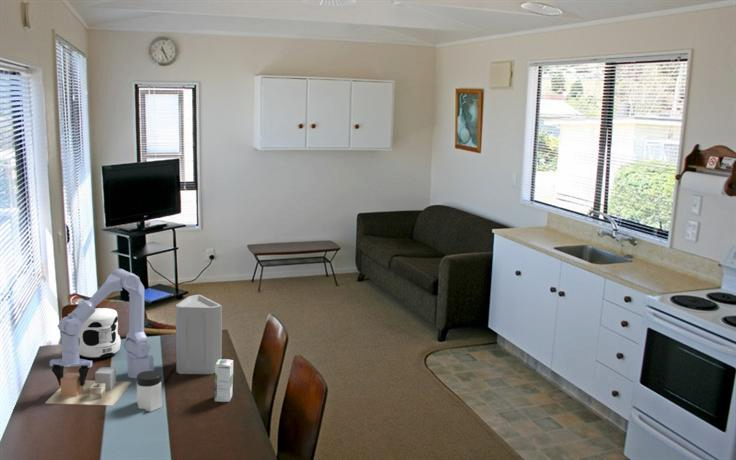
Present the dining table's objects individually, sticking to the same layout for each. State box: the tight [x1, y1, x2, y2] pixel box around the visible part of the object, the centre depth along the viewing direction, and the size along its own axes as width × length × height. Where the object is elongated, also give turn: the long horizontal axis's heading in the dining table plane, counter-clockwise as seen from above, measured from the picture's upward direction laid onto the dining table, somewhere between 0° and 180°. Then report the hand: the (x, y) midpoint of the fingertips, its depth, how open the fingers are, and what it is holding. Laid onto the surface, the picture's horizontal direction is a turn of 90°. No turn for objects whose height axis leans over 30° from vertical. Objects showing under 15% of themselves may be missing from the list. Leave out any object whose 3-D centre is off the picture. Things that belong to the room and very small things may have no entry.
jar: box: [136, 370, 163, 412], centre depth 235 cm, size 9×8×12 cm
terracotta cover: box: [60, 372, 83, 396], centre depth 241 cm, size 6×6×6 cm
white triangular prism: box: [175, 294, 223, 375], centre depth 268 cm, size 19×15×28 cm
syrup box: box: [213, 358, 234, 403], centre depth 243 cm, size 6×6×14 cm
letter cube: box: [90, 383, 106, 399], centre depth 240 cm, size 4×4×4 cm
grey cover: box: [94, 366, 117, 390], centre depth 247 cm, size 6×6×6 cm
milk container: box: [78, 307, 122, 359], centre depth 279 cm, size 17×17×18 cm
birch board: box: [44, 379, 132, 406], centre depth 243 cm, size 24×20×1 cm
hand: (72, 384), depth 241 cm, fingers open, 7 cm apart
